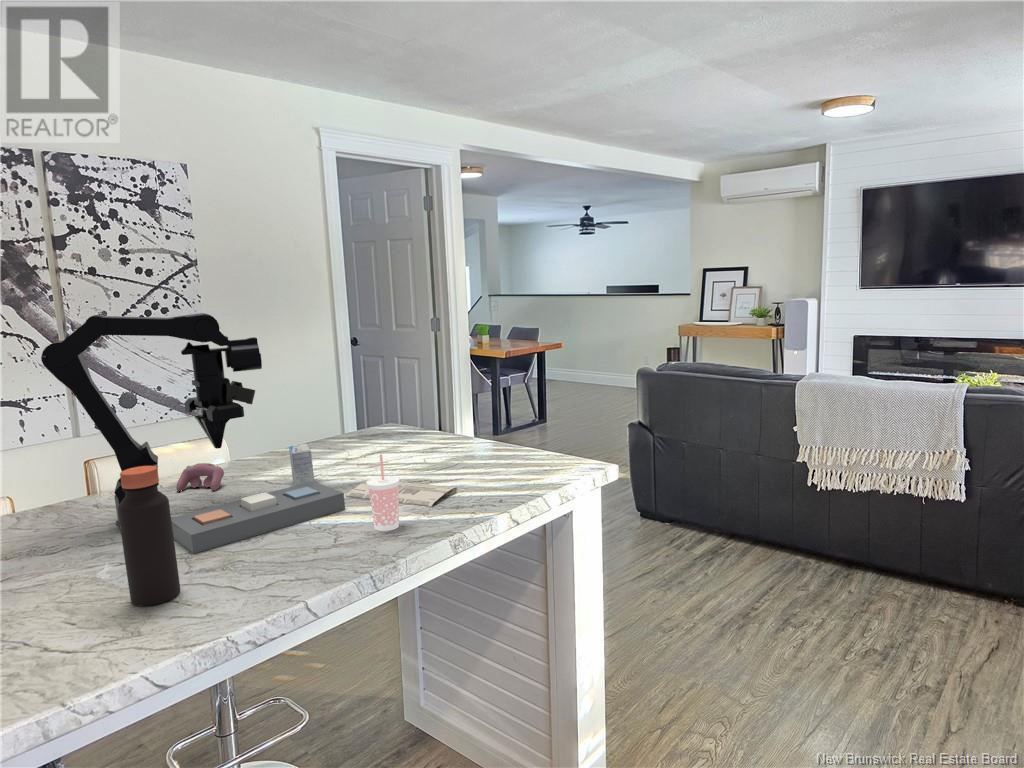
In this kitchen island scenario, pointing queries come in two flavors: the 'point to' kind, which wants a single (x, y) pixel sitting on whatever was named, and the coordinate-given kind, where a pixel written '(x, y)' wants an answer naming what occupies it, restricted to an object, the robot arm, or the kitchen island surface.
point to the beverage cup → (384, 501)
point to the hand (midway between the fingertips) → (218, 448)
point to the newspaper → (408, 493)
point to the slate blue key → (301, 493)
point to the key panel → (255, 518)
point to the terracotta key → (211, 517)
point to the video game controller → (198, 470)
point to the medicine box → (301, 464)
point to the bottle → (147, 538)
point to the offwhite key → (258, 502)
